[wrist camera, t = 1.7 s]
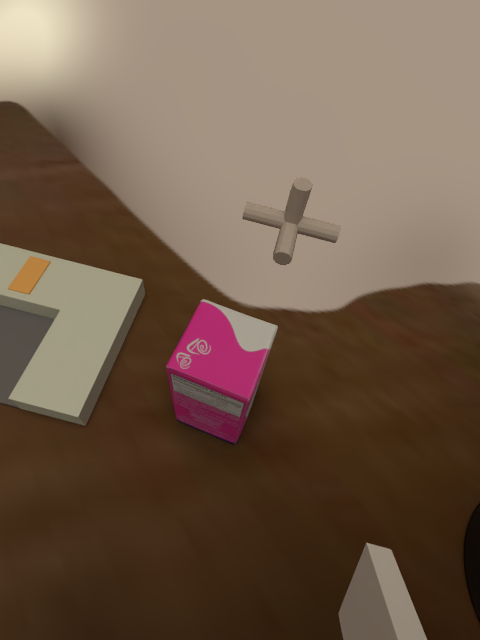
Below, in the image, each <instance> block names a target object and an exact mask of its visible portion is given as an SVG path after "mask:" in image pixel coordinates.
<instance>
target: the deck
mask: <svg viewBox="0 0 480 640" xmlns="http://www.w3.org/2000/svg"><path fill="white" fill-rule="evenodd" d="M144 296H145V290H144V285H143V280H142V279H138V278H134V277H130V276H126V275H122V274H118V273H114V272H110V271H107V270H103V269H99V268H95V267H91V266H87V265H83V264H79V263H75V262H71V261H67V260H63V259H59V258H55V257H52V256H48V255H44V254H40V253H36V252H32V251H28V250H24V249H20V248H16V247H12V246H8V245H4V244H0V403H1V404H5V405H9V406H12V407H16V408H20V409H24V410H27V411H31V412H35V413H39V414H43V415H46V416H50V417H54V418H58V419H61V420H65V421H69V422H73V423H76V424H80V425H84V426H86V424H87V422H88V420H89V417H90V415H91V413H92V411H93V409H94V406H95V404H96V402H97V400H98V398H99V395H100V393H101V391H102V389H103V387H104V384H105V382H106V380H107V378H108V376H109V373H110V371H111V369H112V367H113V364H114V362H115V360H116V358H117V356H118V353H119V351H120V349H121V347H122V345H123V342H124V340H125V338H126V336H127V334H128V331H129V329H130V327H131V325H132V323H133V320H134V318H135V316H136V314H137V312H138V309H139V307H140V305H141V303H142V300H143V298H144Z"/></svg>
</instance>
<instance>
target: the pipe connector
mask: <svg viewBox="0 0 480 640" xmlns="http://www.w3.org/2000/svg"><path fill="white" fill-rule="evenodd" d="M311 189H312V183H311V182H310V181H309V180H307V179H305V178H297V179H295V180H294V182H293V185H292V189H291V191H290V195H289V198H288V202H287V206H286V210H285V212H284V211H280V210H276V209H272V208H268V207H265V206H261V205H257V204H253V203H249V202H247V203H246V205H245V209H244V213H243V219H245V220H248V221H252V222H256V223H260V224H264V225H268V226H272V227H275V228H279V229H280V232H279V235H278V239H277V242H276V246H275V250H274V253H273V255H274V256H273V259H274V260H275V262H276V263H278V264H280V265H286V264H289V263H290V262H291V260H292V255H293V251H294V247H295V242H296V238H297V233H298V234H302V235H306V236H310V237H314V238H318V239H322V240H325V241H330V242H333V243H335V242H336V241H337V239H338V236H339V232H340V226H338V225H334V224H330V223H327V222H323V221H319V220H315V219H311V218H307V217H303V213H304V210H305V207H306V204H307V201H308V198H309V195H310V192H311Z"/></svg>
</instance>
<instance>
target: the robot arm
mask: <svg viewBox="0 0 480 640" xmlns="http://www.w3.org/2000/svg"><path fill="white" fill-rule="evenodd" d="M465 566H466V574H467V580H468V585H469V590H470V593H471V597H472V600H473V603H474V606H475V609H476V612H477V614H478V617H479V619H480V504H479V505H478V507H477V508H476V510H475V512H474V514H473V516H472V518H471V520H470V523H469V526H468V530H467V535H466V542H465ZM338 614H339V619H340V624H341V630H342V635H343V640H427V638H426V636H425V633H424V631H423V628H422V626H421V623H420V621H419V618H418V616H417V613H416V611H415V608H414V606H413V603H412V601H411V598H410V596H409V593H408V591H407V588H406V586H405V583H404V581H403V578H402V576H401V573H400V571H399V568H398V566H397V563H396V561H395V558H394V556H393V553H392V551H391V549H388V548H384V547H380V546H376V545H373V544H369V543H366V545H365V547H364V550H363V552H362V555H361V557H360V560H359V563H358V565H357V568H356V570H355V573H354V575H353V578H352V580H351V583H350V585H349V588H348V590H347V593H346V595H345V598H344V600H343V603H342V606H341V608H340V611H339V613H338Z"/></svg>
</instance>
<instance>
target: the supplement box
mask: <svg viewBox="0 0 480 640" xmlns="http://www.w3.org/2000/svg"><path fill="white" fill-rule="evenodd" d="M277 329H278V327H277V326H276V325H274V324H271V323H268V322H265V321H262V320H259V319H256V318H253V317H250V316H247V315H245V314H242V313H239V312H237V311H234V310H231V309H229V308H226V307H223V306H221V305H218V304H215V303H213V302H210V301H207V300H205V299H202V300H201V302H200V304H199V306H198V307H197V309H196V311H195V313H194V315H193V317H192V319H191V321H190V322H189V324H188V326H187V328H186V330H185V332H184V334H183V336H182V338H181V339H180V341H179V343H178V345H177V347H176V349H175V351H174V353H173V355H172V356H171V358H170V360H169V362H168V364H167V366H166V368H167V373H168V378H169V383H170V389H171V393H172V399H173V404H174V409H175V414H176V420H178V421H180V422H182V423H185V424H187V425H189V426H192V427H194V428H196V429H199V430H201V431H203V432H206V433H208V434H210V435H213V436H215V437H218V438H220V439H222V440H225V441H227V442H230V443H232V444H236V443H237V441H238V439H239V437H240V435H241V432H242V430H243V427H244V425H245V422H246V419H247V417H248V414H249V412H250V409H251V406H252V404H253V401H254V398H255V395H256V392H257V389H258V385H259V382H260V379H261V376H262V373H263V370H264V367H265V364H266V361H267V358H268V355H269V352H270V349H271V346H272V343H273V340H274V337H275V335H276V332H277Z"/></svg>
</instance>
